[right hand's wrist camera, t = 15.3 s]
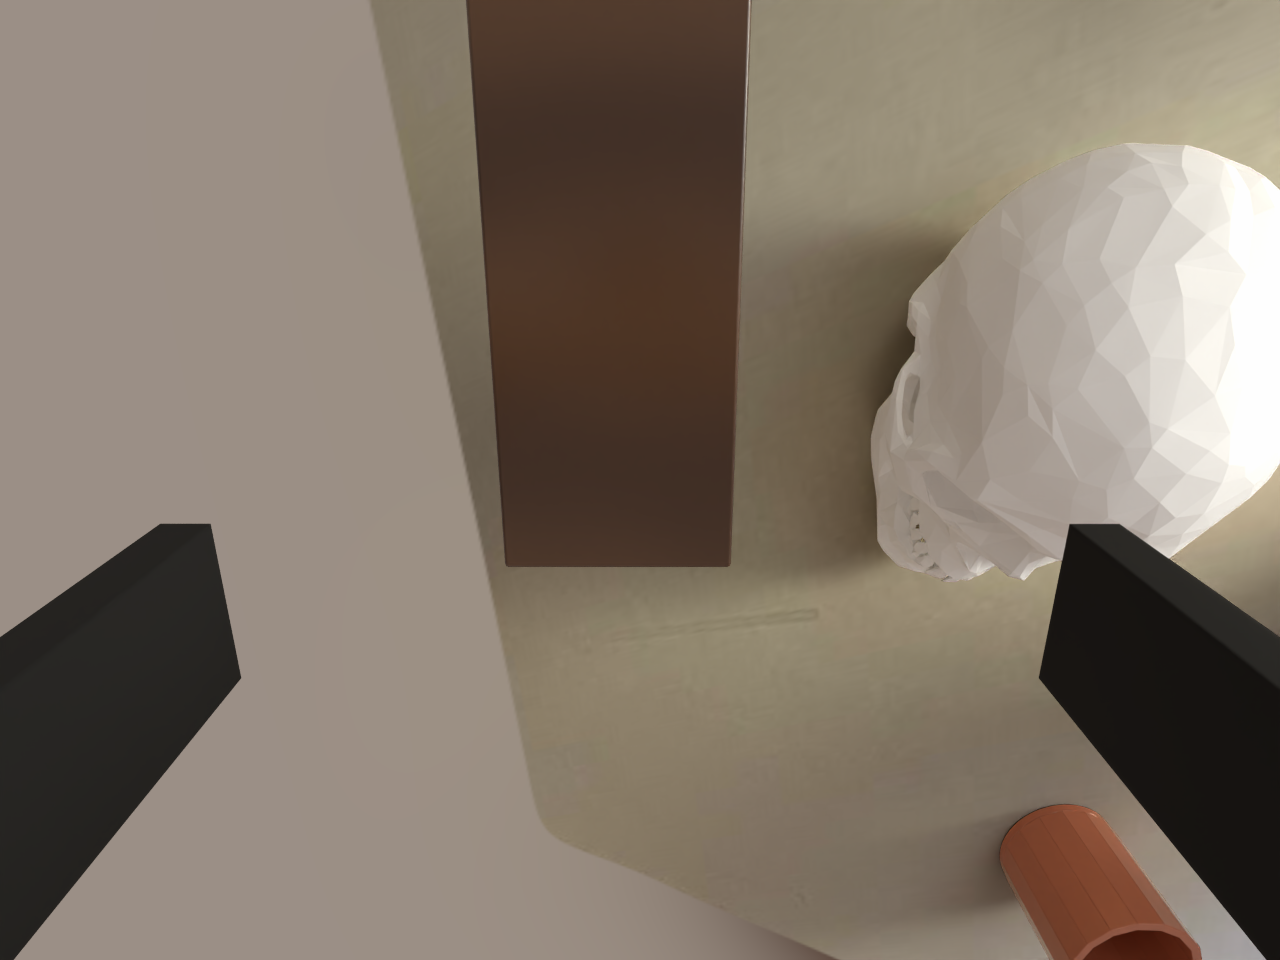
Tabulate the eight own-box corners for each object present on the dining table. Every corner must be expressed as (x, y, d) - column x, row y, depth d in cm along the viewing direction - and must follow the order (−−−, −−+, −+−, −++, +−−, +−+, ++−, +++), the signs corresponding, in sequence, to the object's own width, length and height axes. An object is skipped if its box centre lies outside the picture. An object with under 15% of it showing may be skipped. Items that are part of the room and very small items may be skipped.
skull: (796, 532, 45) (888, 707, 30) (945, 118, 38) (1161, 80, 23) (1012, 582, 47) (1200, 771, 32) (1195, 194, 39) (1547, 205, 25)
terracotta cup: (1041, 788, 52) (1120, 907, 43) (1135, 826, 53) (1230, 949, 44) (977, 869, 54) (1040, 997, 46) (1069, 904, 55) (1147, 1035, 47)
